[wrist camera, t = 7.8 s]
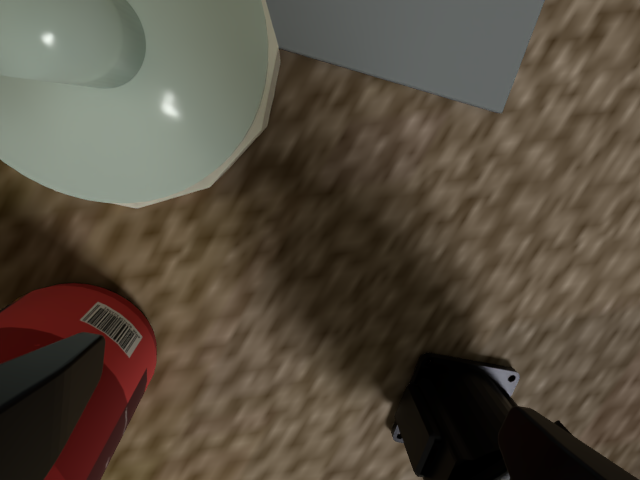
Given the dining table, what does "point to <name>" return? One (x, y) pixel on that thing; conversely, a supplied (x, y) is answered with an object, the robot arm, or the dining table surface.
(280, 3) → the mat
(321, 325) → the dining table surface
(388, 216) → the dining table surface
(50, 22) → the lid
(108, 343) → the canned food
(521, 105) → the dining table surface
